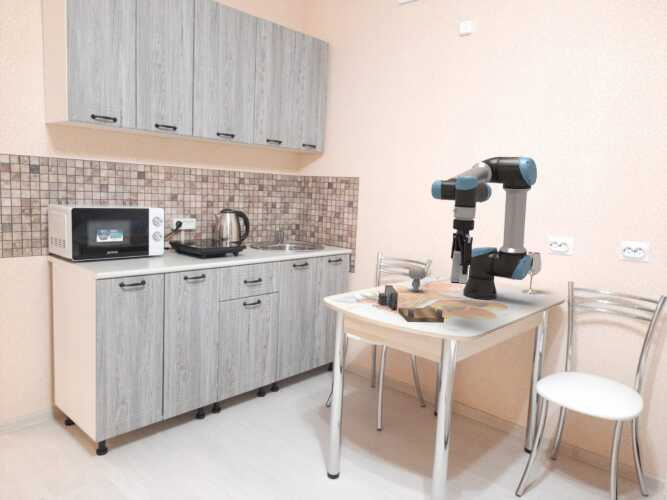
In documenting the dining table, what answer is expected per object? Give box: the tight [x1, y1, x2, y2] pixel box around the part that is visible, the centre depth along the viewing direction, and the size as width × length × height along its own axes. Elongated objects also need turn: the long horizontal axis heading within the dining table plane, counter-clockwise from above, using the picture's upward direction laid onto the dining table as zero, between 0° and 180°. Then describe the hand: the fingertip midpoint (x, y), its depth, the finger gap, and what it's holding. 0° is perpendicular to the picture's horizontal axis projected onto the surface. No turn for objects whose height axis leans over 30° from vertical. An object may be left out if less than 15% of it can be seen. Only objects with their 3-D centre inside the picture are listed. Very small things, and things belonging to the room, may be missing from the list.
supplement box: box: [450, 250, 470, 285], centre depth 186 cm, size 6×6×12 cm
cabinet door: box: [390, 291, 445, 323], centre depth 197 cm, size 16×18×7 cm
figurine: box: [408, 265, 426, 293], centre depth 240 cm, size 8×8×12 cm
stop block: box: [377, 292, 388, 306], centre depth 212 cm, size 2×5×4 cm, turn 7°
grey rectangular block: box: [384, 284, 397, 308], centre depth 213 cm, size 14×3×6 cm, turn 3°
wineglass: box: [521, 251, 542, 295], centre depth 251 cm, size 8×8×20 cm
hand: (458, 280), depth 187 cm, fingers closed on supplement box, 7 cm apart
